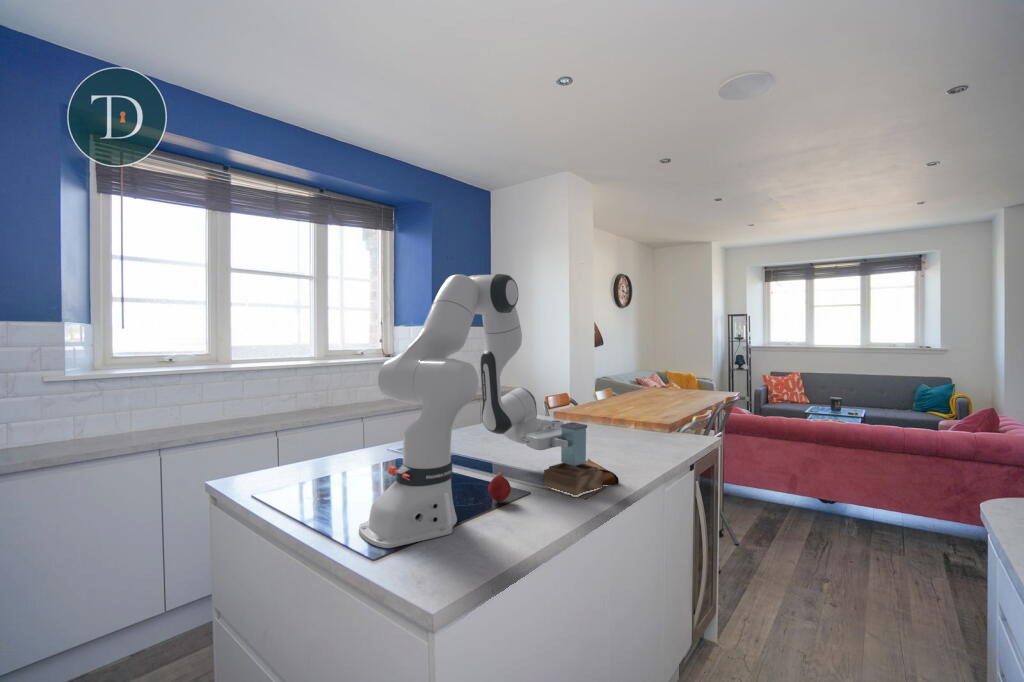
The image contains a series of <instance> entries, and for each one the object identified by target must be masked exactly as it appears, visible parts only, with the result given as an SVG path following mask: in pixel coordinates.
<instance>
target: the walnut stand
mask: <svg viewBox="0 0 1024 682" xmlns="http://www.w3.org/2000/svg"><path fill="white" fill-rule="evenodd" d="M544 486H547V487H550V488H554V489H557V490H560V491H563V492H567V493H570V494H573V495H578V494H580V493H583V492H586V491H590V490H594V489H597V488H601V487H604V486H603V471H600V470H598V468H597V467H593V466H590V465H586V464H580V465H576V466H573V465H569V464H566V463H562V462H561V463H557V464H553V465H549V466H548V468H547V469H544V470H543V487H544Z"/></svg>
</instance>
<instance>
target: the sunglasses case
mask: <svg viewBox="0 0 1024 682" xmlns="http://www.w3.org/2000/svg"><path fill="white" fill-rule="evenodd" d="M583 464H586V465H590V466H593V467H597V468H598V470H600V471H603V485H612V486H618V485H619V483H620V481H619V477H618V476H617V474H616V473H614V472H613V471H612V470H608V469H607V468H605V467H603V466H602V465H599V464H598V463H596V462H594V461H592V460H590V458H587V460H586V463H583ZM616 484H617V485H616Z"/></svg>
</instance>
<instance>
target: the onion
mask: <svg viewBox="0 0 1024 682" xmlns="http://www.w3.org/2000/svg"><path fill="white" fill-rule="evenodd" d="M487 488H488V489H487V490H488V494H489V497H490V498H491V499H492V500H493V501H495V502H497V503H498V502H501V503H503V501H505V500H506V499H507V498H509V496H510V494H511V490H512V487H511V484H510V482H509V480H508V479H507V478H506V477H504V476H503V472H498V474H496V476H495V477H493V478H492V479H491V480H490V482H489V485H488V487H487Z"/></svg>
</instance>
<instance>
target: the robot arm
mask: <svg viewBox="0 0 1024 682" xmlns="http://www.w3.org/2000/svg"><path fill="white" fill-rule="evenodd" d="M518 300H519V287H518V284H517V283H516V280H515V279H514V278H513V277H512V276H510V275H508V274H504V273H496V274H473V275H469V276H468V275H465V274H453V275H450V276H449V277H447V278H446V280H445V281H444V283H443V284H442V285H441V286H440V288H439V290H438V292H437V293H436V295H435V298H434V300H433V302H432V304H431V307H430V309H429V312H428V314H427V316H426V318H425V320H424V323H423V325H422V328H421V329H420V331H419V332H418V334H417V335H416V336H415V338H414V339H412V341H411V342H410V343H409V344H408V345H407V346H406V347H405V348H404V349H403V350H402V351H401V352H399V353H398V354H397V355H395V356H394V357H392V358H389V359H388V360H386V361H385V362H384V363H383V364H382V365H381V367H380V369H379V371H378V372H379V373H378V375H377V383H378V384H377V385H378V387H379V391H380V392H381V393H382V395H383V396H385V397H387V398H389V399H392V400H395V401H398V402H400V403H401V402H402V403H408V404H409V403H411V404H420V405H422V409H421V413H420V416H419V418H418V419H416V420H414V421H412V422H411V423H410V424H408V425H407V426H406V428H405V429H404V431H403V435H402V441H403V442H402V446H403V447H402V448H403V450H402V453H403V454H402V457H403V458H402V459H403V460H402V462H401V465H400V466H399V468H398V467H397V466H394V465H390V466H388V468H387V473H388V474H389V475H391V476H393V477H395V481H394V482H393V483H392V484H391V485H390V486H389V487H388V488H387V489H386V490H385V491H384V492H382V493H381V495H380V496H378V497H377V498H376V499H375V500H374V501H372V504H371V507H370V512H369V519H368V521H364V522H362V523H360V525H359V526H358V534H359V535H360V537H361V538H363V540H365V541H366V542H367V543H369V544H371V545H373V546H375V547H379V548H384V549H392V548H396V547H401V546H404V545H410V544H413V543H416V542H422V541H426V540H430V539H434V538H438V537H439V538H440V537H443V536H447V535H451V534H452V533H453V528H454V526H455V525H456V524H457V522H458V517H457V514H456V511H455V506H454V501H453V500H454V499H453V498H454V497H453V493H452V490H453V489H452V479H453V460H451V459H452V456H451V454H452V453H451V451H452V448H451V447H452V434H453V427H454V424H455V423H456V422H455V421H456V419H457V417H458V415H459V414H460V412H461V411H462V410H463V409H464V408H465V407H466V406H468V404H469V403H471V402H472V401H473V400H474V398H476V395H477V393H478V389H479V386H480V383H481V394H482V395H481V396H482V408H481V421H482V423H483V426H484V427H485V428H486V430H487V431H489V432H491V433H494V434H496V435H497V434H498V435H503V436H504V437H505V438H507V440H510V441H513V442H515V443H518V444H522V445H526V446H527V447H529V448H531V449H532V450H535V451H544V450H549V449H552V448H553V449H554V448H557V447H560V448H561V447H570V441H569V440H561V438H562V428H561V424H564V421H562V420H548V419H542V418H537V417H538V411H537V409H538V408H537V402H536V398H535V396H534V395H533V394H532V393H531V392H530V391H529V390H528V389H527V388H524V387H516V388H514V389H513V390H511V391H508V392H507V393H506V394H504V395H502V391H501V376H502V372H503V370H504V368H505V367H506V365H507V364H508V362H509V361H510V360H511V359H512V358H513V356H516V353H517V352H518V351H519V349H520V347H521V346H522V341H523V333H522V327H521V322H520V318H519V313H518V310H517V308H516V306H517V303H518ZM475 315H481V316H482V317H481V319H482V320H481V321H482V326H483V331H484V349H483V353H482V355H481V356H480V380H481V382H480V380H479V375H478V372H477V369H476V368H475V367H474V365H473V364H472V363H469V362H466V361H463V360H459V359H455V358H448V357H450V356H452V355H454V354H456V353H457V352H459V351H460V350H461V349H463V347H464V346H465V344H466V341H467V339H468V335H469V333H470V330H471V327H472V323H473V322H474V318H475ZM479 382H480V383H479Z"/></svg>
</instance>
